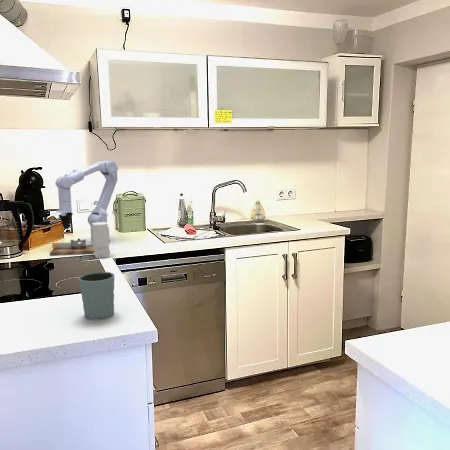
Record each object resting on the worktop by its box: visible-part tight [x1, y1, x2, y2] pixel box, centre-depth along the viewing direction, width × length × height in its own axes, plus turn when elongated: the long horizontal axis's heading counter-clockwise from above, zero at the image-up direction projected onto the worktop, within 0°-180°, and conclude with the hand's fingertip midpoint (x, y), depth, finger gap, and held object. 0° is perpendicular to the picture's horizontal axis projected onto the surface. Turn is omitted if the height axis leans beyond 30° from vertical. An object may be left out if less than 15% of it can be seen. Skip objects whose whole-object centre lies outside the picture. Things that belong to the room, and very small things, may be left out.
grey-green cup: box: [78, 271, 115, 321], centre depth 136 cm, size 10×10×12 cm
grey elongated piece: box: [51, 238, 87, 249], centre depth 221 cm, size 16×7×4 cm, turn 101°
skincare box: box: [92, 222, 111, 259], centre depth 210 cm, size 8×7×16 cm
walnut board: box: [49, 244, 94, 257], centre depth 222 cm, size 20×15×2 cm
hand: (66, 228), depth 226 cm, fingers open, 3 cm apart
